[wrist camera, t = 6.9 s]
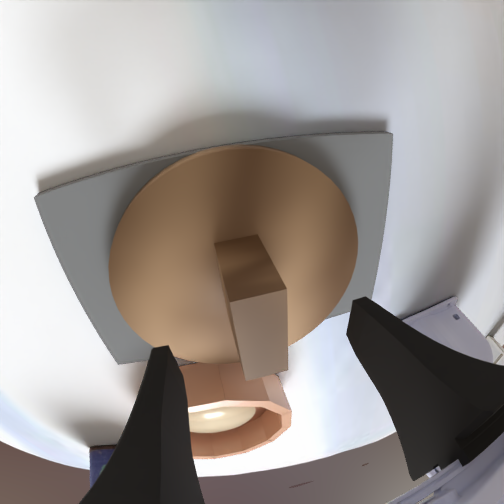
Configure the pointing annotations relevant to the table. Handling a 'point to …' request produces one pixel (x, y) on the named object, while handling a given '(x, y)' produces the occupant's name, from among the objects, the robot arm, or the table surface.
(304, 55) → the table surface
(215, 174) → the lid
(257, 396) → the bowl
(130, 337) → the mat
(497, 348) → the syrup box
